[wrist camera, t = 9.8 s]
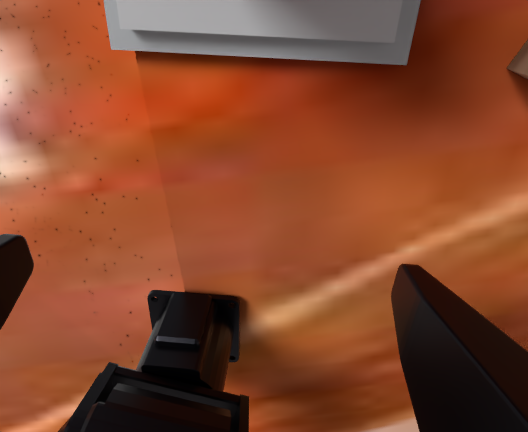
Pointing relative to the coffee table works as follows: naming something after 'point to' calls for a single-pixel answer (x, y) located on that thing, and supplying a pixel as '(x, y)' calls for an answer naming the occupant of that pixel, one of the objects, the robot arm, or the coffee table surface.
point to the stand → (267, 28)
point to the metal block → (520, 62)
